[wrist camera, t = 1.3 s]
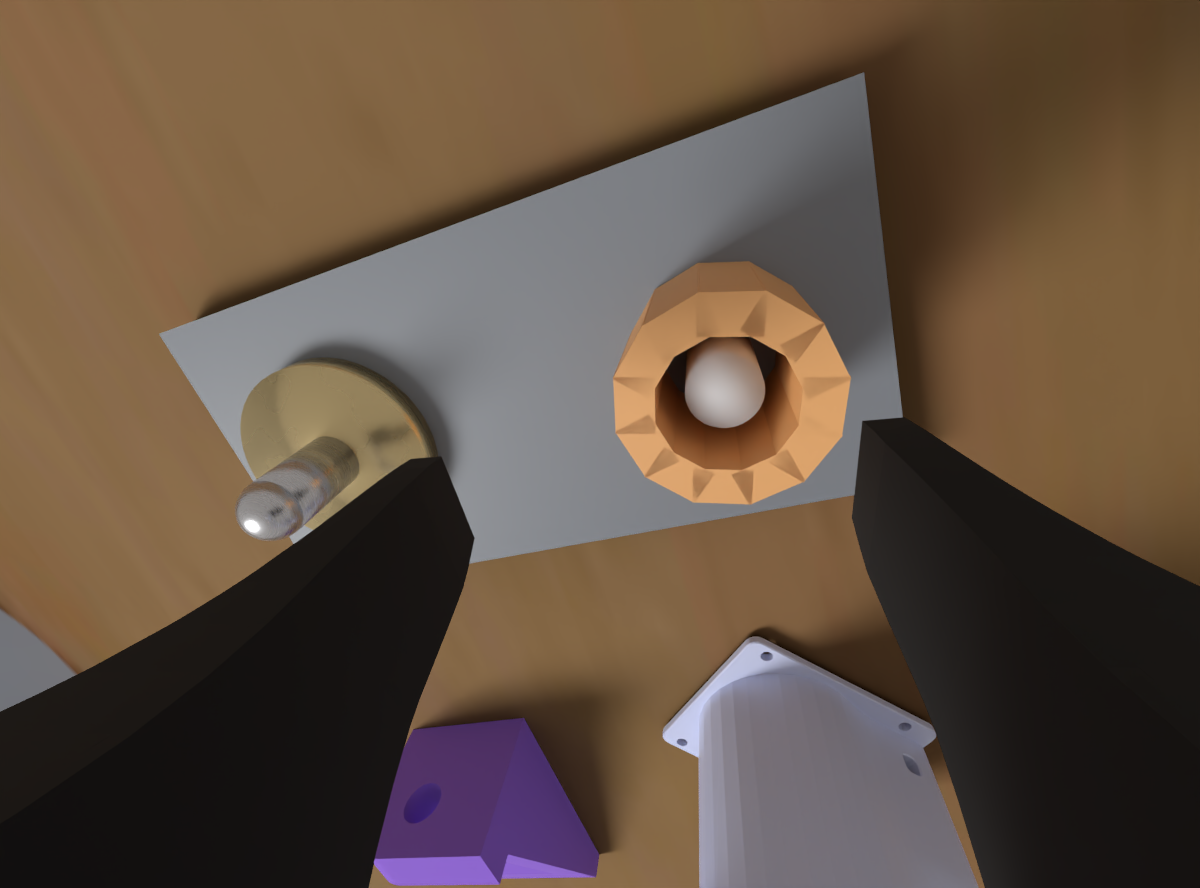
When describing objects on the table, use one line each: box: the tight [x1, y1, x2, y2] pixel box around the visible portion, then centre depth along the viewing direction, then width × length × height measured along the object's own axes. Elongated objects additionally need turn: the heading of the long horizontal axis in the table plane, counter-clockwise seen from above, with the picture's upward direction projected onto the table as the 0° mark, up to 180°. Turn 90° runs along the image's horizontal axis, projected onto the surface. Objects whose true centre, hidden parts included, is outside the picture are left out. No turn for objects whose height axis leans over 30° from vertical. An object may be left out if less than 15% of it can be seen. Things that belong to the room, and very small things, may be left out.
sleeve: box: [613, 261, 851, 505], centre depth 15 cm, size 5×5×4 cm
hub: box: [235, 357, 438, 541], centre depth 19 cm, size 7×7×5 cm
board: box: [159, 72, 903, 563], centre depth 18 cm, size 24×12×5 cm, turn 108°
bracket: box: [374, 718, 599, 885], centre depth 29 cm, size 12×7×7 cm, turn 19°
